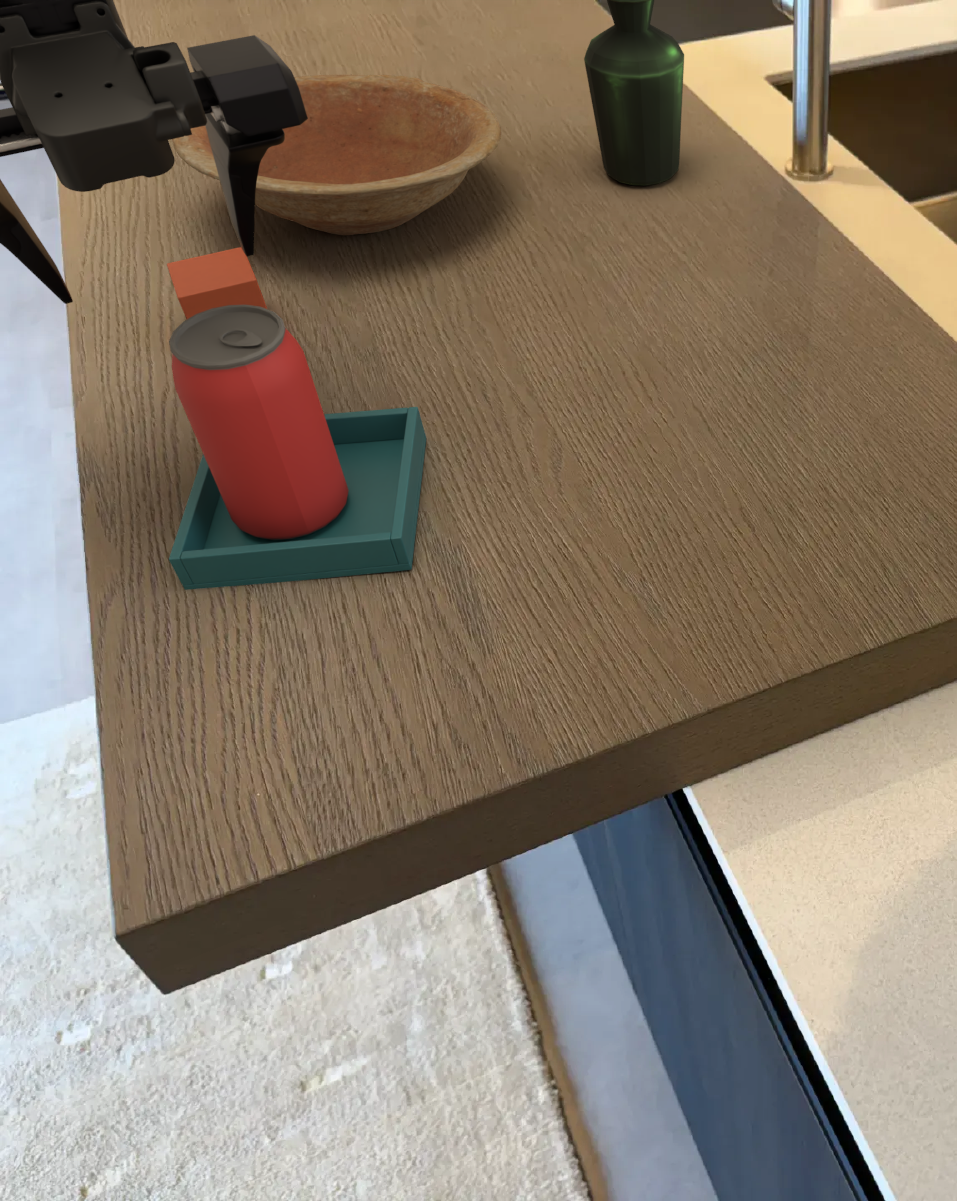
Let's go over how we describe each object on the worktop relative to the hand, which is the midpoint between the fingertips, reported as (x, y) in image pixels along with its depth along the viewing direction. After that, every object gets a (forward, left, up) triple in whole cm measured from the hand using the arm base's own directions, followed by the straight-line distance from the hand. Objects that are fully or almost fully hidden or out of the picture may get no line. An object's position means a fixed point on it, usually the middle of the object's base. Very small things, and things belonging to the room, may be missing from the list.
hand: (160, 275), depth 61 cm
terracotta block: (-3, +15, -13) cm, 20 cm away
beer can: (+4, -5, -13) cm, 14 cm away
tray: (+5, -5, -13) cm, 15 cm away
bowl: (+4, +32, -13) cm, 35 cm away
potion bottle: (+27, +37, -13) cm, 48 cm away
